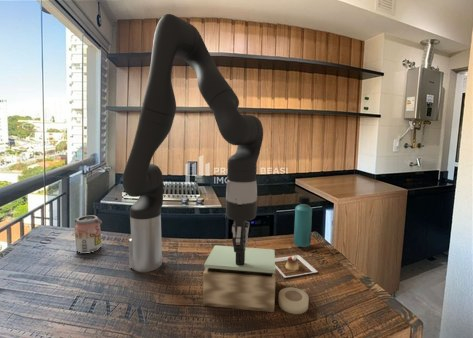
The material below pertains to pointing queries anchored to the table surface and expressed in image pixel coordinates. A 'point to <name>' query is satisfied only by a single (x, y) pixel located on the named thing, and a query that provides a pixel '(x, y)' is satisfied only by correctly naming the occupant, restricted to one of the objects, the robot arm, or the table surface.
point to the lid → (253, 259)
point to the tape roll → (293, 300)
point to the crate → (239, 289)
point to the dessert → (294, 264)
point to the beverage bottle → (303, 223)
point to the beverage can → (88, 233)
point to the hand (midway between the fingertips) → (240, 263)
